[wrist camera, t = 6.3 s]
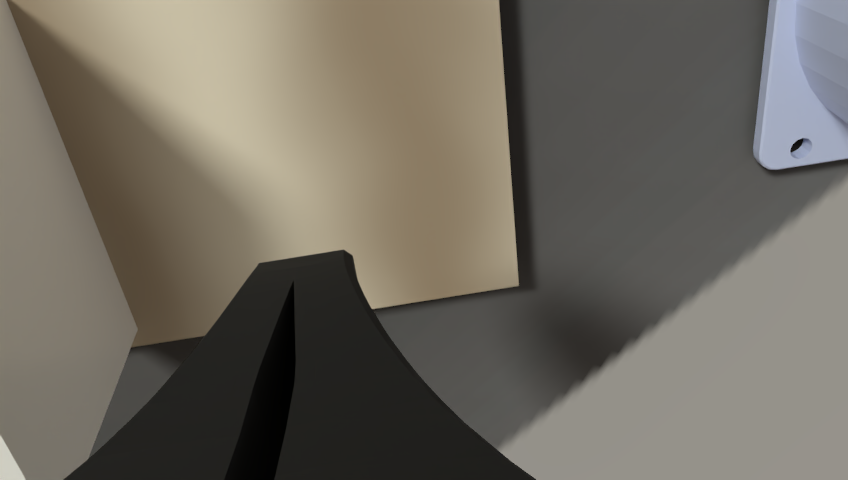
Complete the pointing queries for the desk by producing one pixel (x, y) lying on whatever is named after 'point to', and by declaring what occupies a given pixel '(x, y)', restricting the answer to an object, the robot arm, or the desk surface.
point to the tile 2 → (49, 288)
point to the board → (282, 143)
